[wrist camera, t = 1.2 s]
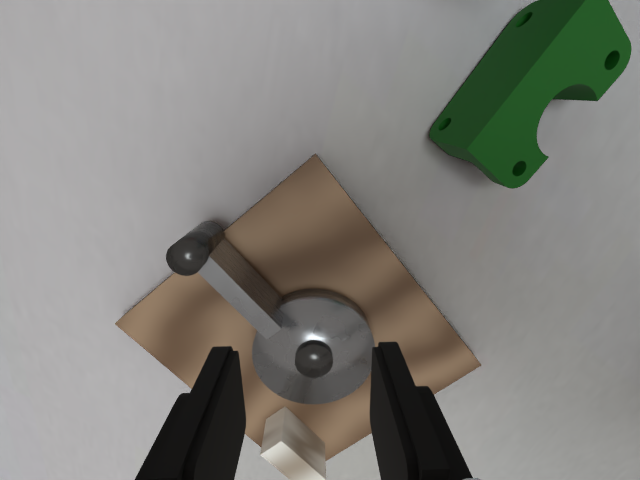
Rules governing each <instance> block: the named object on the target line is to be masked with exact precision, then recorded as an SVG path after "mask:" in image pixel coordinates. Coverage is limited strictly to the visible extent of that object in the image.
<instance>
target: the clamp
mask: <svg viewBox="0 0 640 480" xmlns="http://www.w3.org/2000/svg"><path fill="white" fill-rule="evenodd" d="M630 55H631V43H630V40H629V38H628V37H627V35H626V33H625V31H624V29H623V27H622V25H621V23H620V22H619V20H618V18H617V16H616V14H615V12H614V10H613V9H612V7H611V5H610V3H609V1H608V0H538V1H535V2H533V3H531V4H530V5H528V6H527V7H525V8H524V9H523V10H521V11H520V12H519V13H518V14H517V15H516V16H515V17H514V18H513V19H512V20H511V21H510V23H509V24H508V25H507V26H506V28H505V29H504V30H503V32H502V33H501V35H500V36H499V37H498V39H497V40H496V41H495V43H494V44H493V45H492V47H491V48H490V49H489V51H488V52H487V53H486V55H485V56H484V57H483V59H482V60H481V61H480V63H479V64H478V65H477V67H476V68H475V69H474V71H473V72H472V73H471V75H470V76H469V77H468V79H467V80H466V81H465V83H464V84H463V85H462V87H461V88H460V89H459V91H458V92H457V93H456V95H455V96H454V97H453V99H452V100H451V101H450V103H449V104H448V105H447V107H446V108H445V109H444V111H443V112H442V113H441V115H440V116H439V117H438V119H437V120H436V121H435V123H434V124H433V126H432V128H431V130H430V134H429V136H430V138H431V139H432V140H433V141H434V142H435V143H436V144H437V145H438V146H439V147H440V148H442V149H443V150H444V151H445V152H446V153H447V154H448V155H451V156H454V157H457V158H460V159H463V160H466V161H469V162H472V163H473V164H474V165H475V166H476V167H477V168H478V169H480V170H481V171H482V172H483V173H484V174H485V175H486V176H487V177H488V178H489V179H490V180H491V181H493V182H495V183H497V184H500V185H503V186H505V187H508V188H518V187H520V186H522V185H524V184H525V183H526V182H527V181H528V180H529V179H530V178H531V177H532V176H533V174H534V173H535V172H536V171H537V170H538V169H539V168H540V166H541V165H542V164H543V163H544V162H545V161H546V160H547V158H548V156H546V155H544V154H543V153H542V152H541V150H540V149H539V147H538V143H537V127H538V123H539V120H540V118H541V115H542V113H543V111H544V110H545V108H546V106H547V105H548V104H549V102H550V101H551V100H552V99H564V100H587V101H598V100H599V99H600V98H601V97H602V95H603V94H604V93H605V92H606V91H607V90H608V89H609V87H610V86H611V85H612V84H613V83H614V82H615V81H616V79H617V78H618V77H619V76H620V75H621V74H622V72H623V71H624V69H625V68H626V66H627V64H628V62H629V59H630Z"/></svg>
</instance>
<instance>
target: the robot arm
mask: <svg viewBox="0 0 640 480" xmlns="http://www.w3.org/2000/svg"><path fill="white" fill-rule="evenodd" d="M370 425H371V431H372V436H373V441H374V446H375V451H376V456H377V461H378V466H379V471H380V476H381V480H481V479H478V478H473V477H472V475H471V473H470V471H469V469H468V467H467V465H466V463H465V460H464V458H463V456H462V454H461V452H460V450H459V448H458V446H457V443H456V441H455V439H454V437H453V435H452V433H451V431H450V429H449V426H448V424H447V422H446V420H445V418H444V416H443V414H442V412H441V409H440V407H439V405H438V403H437V401H436V399H435V397H434V394H433V392H432V391H431V389H430V388H429V387H428V386H416V385H415V383H414V381H413V378H412V376H411V373H410V371H409V369H408V366H407V364H406V361H405V359H404V356H403V354H402V352H401V349H400V347H399V344H398V343H397V342H379V343H378V347H373V348H372V364H371V389H370ZM245 429H246V411H245V402H244V394H243V385H242V376H241V367H240V359H239V352H238V351H233V348H232V347H231V346H217V347H212V349H211V350H210V352H209V355H208V357H207V359H206V361H205V363H204V365H203V367H202V369H201V371H200V373H199V375H198V377H197V379H196V382H195V384H194V386H193V388H192V390H191V392H190V393H182V394H181V395H179V397H178V398H177V400H176V402H175V404H174V405H173V407H172V409H171V411H170V413H169V415H168V417H167V419H166V421H165V423H164V425H163V427H162V428H161V430H160V432H159V434H158V436H157V438H156V440H155V442H154V444H153V446H152V448H151V450H150V452H149V453H148V455H147V457H146V459H145V461H144V463H143V465H142V467H141V469H140V471H139V473H138V475H137V476H136V478H135V480H234V477H235V473H236V469H237V464H238V460H239V456H240V451H241V447H242V443H243V438H244V434H245Z"/></svg>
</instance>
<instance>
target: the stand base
mask: <svg viewBox="0 0 640 480" xmlns="http://www.w3.org/2000/svg"><path fill="white" fill-rule="evenodd" d="M223 232H224V238H225V239H226V240H227V241H228V242H229V243H230V244H231V245H232V247H233V248H234V249H235V250H236V251H237V252H238V253H239V254H240V255H241V256H242V257H243V258H244V259H245V260H246V261H247V262H248V263H249V264H250V265H251V266H252V267H253V268H254V270H255V271H256V272H257V273H258V274H259V275H260V276H261V277H262V278H263V279H264V280H265V281H266V282H267V283H268V284H269V285H270V286H271V287H272V288H273V289H274V290H275V291H276V292H277V294H278V295H279V296H280V297H283V296H285V295H287V294H289V293H292V292H295V291H299V290H303V289H325V290H330V291H333V292H336V293H339V294H341V295H343V296H345V297H347V298H349V299H350V300H351V301H353V302H354V303H355V304H356V305H357V306H358V307H359V308H360V309H361V310H362V312H363V313H364V314H365V316H366V318H367V320H368V323H369V326H370V329H371V332H372V335H373V339H374V343H375V347H378V343H379V342H397V343H398V344H399V347H400V349H401V352H402V354H403V356H404V359H405V361H406V364H407V366H408V369H409V371H410V373H411V376H412V378H413V381H414V383H415V385H416V386H428V387H429V388H430V389H431V391H432V392H433V394H436V393H437V392H439V391H440V390H442V389H444V388H445V387H447V386H449V385H450V384H452V383H453V382H455V381H457V380H458V379H460V378H462V377H463V376H465V375H466V374H468V373H470V372H471V371H473V370H475V369H476V368H478V367H479V366H481V364H480V363H479V361H478V360H477V359H476V357H475V356H474V355H473V353H472V352H471V351H470V350H469V348H468V347H467V346H466V344H465V343H464V342H463V341H462V339H461V338H460V337H459V336H458V334H457V333H456V332H455V330H454V329H453V328H452V327H451V325H450V324H449V323H448V322H447V320H446V319H445V318H444V316H443V315H442V314H441V313H440V311H439V310H438V309H437V308H436V306H435V305H434V304H433V303H432V301H431V300H430V299H429V297H428V296H427V295H426V294H425V292H424V291H423V290H422V289H421V287H420V286H419V285H418V283H417V282H416V281H415V280H414V278H413V277H412V276H411V275H410V273H409V272H408V271H407V269H406V268H405V267H404V266H403V264H402V263H401V262H400V261H399V259H398V258H397V257H396V255H395V254H394V253H393V252H392V250H391V249H390V248H389V247H388V245H387V244H386V243H385V241H384V240H383V239H382V238H381V236H380V235H379V234H378V233H377V231H376V230H375V229H374V227H373V226H372V225H371V224H370V222H369V221H368V220H367V219H366V217H365V216H364V215H363V214H362V212H361V211H360V210H359V208H358V207H357V206H356V205H355V203H354V202H353V201H352V200H351V198H350V197H349V196H348V194H347V193H346V192H345V191H344V189H343V188H342V187H341V186H340V184H339V183H338V182H337V180H336V179H335V178H334V177H333V175H332V174H331V173H330V172H329V170H328V169H327V168H326V166H325V165H324V164H323V163H322V161H321V160H320V159H319V158H318V156H317V155H316V154H315V155H313V156H312V157H311V158H310V159H309V160H308V161H306V162H305V163H304V164H303V165H302V166H300V167H299V168H298V169H297V170H296V171H294V172H293V173H292V174H291V175H290V176H289V177H287V178H286V179H285V180H284V181H283V182H281V183H280V184H279V185H278V186H277V187H275V188H274V189H273V190H272V191H271V192H270V193H268V194H267V195H266V196H265V197H264V198H262V199H261V200H260V201H259V202H258V203H256V204H255V205H254V206H253V207H252V208H251V209H249V210H248V211H247V212H246V213H245V214H243V215H242V216H241V217H240V218H239V219H237V220H236V221H235V222H234V223H233V224H232V225H230V226H229V227H228V228H227V229H226V230H224V231H223ZM115 324H116V325H117V326H118V327H119V328H120V329H121V330H123V331H124V332H125V333H126V334H127V335H129V336H130V337H131V338H132V339H133V340H135V341H136V342H137V343H138V344H139V345H140V346H142V347H143V348H144V349H145V350H146V351H148V352H149V353H150V354H151V355H152V356H153V357H155V358H156V359H157V360H158V361H159V362H161V363H162V364H163V365H164V366H165V367H167V368H168V369H169V370H170V371H171V372H172V373H174V374H175V375H176V376H177V377H178V378H180V379H181V380H182V381H183V382H184V383H185V384H187V385H188V386H189V387H190V388H191V389H192V388H193V386H194V384H195V382H196V379H197V377H198V375H199V373H200V371H201V369H202V367H203V365H204V363H205V361H206V359H207V357H208V355H209V352H210V350H211V349H212V347H217V346H231V347H232V348H233V351H238V352H239V359H240V367H241V376H242V385H243V394H244V402H245V411H246V429H245V434H246V435H247V436H248V437H250V438H251V439H252V440H253V441H254V442H255V443H257V444H258V445H259V446H260V447H261V453H260V455H261V456H262V457H263V458H265V459H266V460H267V461H268V462H269V463H271V464H272V465H273V466H274V467H275V468H277V469H278V470H279V471H280V472H281V473H283V474H284V475H285V476H286V477H287V478H289V479H290V480H326V463H325V461H327V460H328V459H330V458H331V457H333V456H335V455H336V454H338V453H340V452H341V451H343V450H344V449H346V448H348V447H349V446H351V445H353V444H354V443H356V442H357V441H359V440H361V439H362V438H364V437H366V436H367V435H369V434H370V433H372V431H371V425H370V389H371V372H370V374H369V376H368V377H367V379H366V380H365V381H364V383H363V384H362V385H361V386H360V387H359V388H358V389H357V390H355V391H354V392H353V393H351V394H349V395H348V396H346V397H344V398H342V399H339V400H337V401H333V402H330V403H324V404H302V403H297V402H293V401H290V400H287V399H285V398H282V397H280V396H279V395H277V394H275V393H274V392H272V391H271V390H270V389H269V388H268V387H267V386H266V385H265V384H264V383H263V382H262V381H261V379H260V378H259V376H258V374H257V373H256V370H255V368H254V365H253V360H252V346H253V342H254V338H255V335H256V331H257V330H256V329H255V328H254V327H253V326H252V325H251V324H250V323H249V322H248V321H247V320H246V319H245V318H244V317H243V316H242V315H241V314H240V313H239V312H238V311H237V310H236V309H235V308H234V307H233V306H232V305H231V304H230V303H229V302H228V301H227V300H226V299H225V298H223V297H222V296H221V295H220V294H219V293H218V292H217V291H216V290H215V289H214V288H213V287H212V286H211V285H210V284H209V283H208V282H207V281H206V280H205V279H204V278H203V277H202V276H201V275H200V274H199V273H198V272H197V273H196V274H194V275H190V276H183V275H179V274H177V273H173V274H172V275H171V276H170V277H169V278H167V279H166V280H165V281H164V282H163V283H161V284H160V285H159V286H158V287H157V288H156V289H154V290H153V291H152V292H151V293H150V294H148V295H147V296H146V297H145V298H144V299H142V300H141V301H140V302H139V303H138V304H137V305H135V306H134V307H133V308H132V309H131V310H129V311H128V312H127V313H126V314H125V315H124V316H123V317H121V318H120V319H119V320H118V321H117V322H116V323H115Z"/></svg>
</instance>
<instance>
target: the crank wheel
mask: <svg viewBox="0 0 640 480" xmlns="http://www.w3.org/2000/svg"><path fill="white" fill-rule="evenodd" d="M166 260H167V263H168V265H169V267H170V268H171V269H172V270H173V271H174V272H175V273H177V274H179V275H183V276H190V275H194V274H196V273H197V272H198V273H199V274H200V275H201V276H202V277H203V278H204V279H205V280H206V281H207V282H208V283H209V284H210V285H211V286H212V287H213V288H214V289H215V290H216V291H217V292H218V293H219V294H220V295H221V296H222V297H223V298H225V299H226V300H227V301H228V302H229V303H230V304H231V305H232V306H233V307H234V308H235V309H236V310H237V311H238V312H239V313H240V314H241V315H242V316H243V317H244V318H245V319H246V320H247V321H248V322H249V323H250V324H251V325H252V326H253V327H254V328H255V329H256V330H257V331H256V335H255V338H254V342H253V346H252V360H253V365H254V368H255V370H256V373H257V374H258V376H259V378H260V379H261V381H262V382H263V383H264V384H265V385H266V386H267V387H268V388H269V389H270V390H271V391H272V392H274V393H275V394H277V395H279V396H280V397H282V398H285V399H287V400H290V401H293V402H297V403H302V404H324V403H330V402H333V401H337V400H339V399H342V398H344V397H346V396H348V395H349V394H351V393H353V392H354V391H355V390H357V389H358V388H359V387H360V386H361V385H362V384H363V383H364V381H365V380H366V379H367V377H368V376H369V374H370V372H371V364H372V348H373V347H375V343H374V339H373V335H372V332H371V329H370V326H369V323H368V320H367V318H366V316H365V314H364V313H363V312H362V310H361V309H360V308H359V307H358V306H357V305H356V304H355V303H354V302H353V301H351V300H350V299H349V298H347V297H345V296H343V295H341V294H339V293H336V292H333V291H330V290H325V289H303V290H299V291H295V292H292V293H289V294H287V295H285V296H283V297H280V296H279V295H278V294H277V292H276V291H275V290H274V289H273V288H272V287H271V286H270V285H269V284H268V283H267V282H266V281H265V280H264V279H263V278H262V277H261V276H260V275H259V274H258V273H257V272H256V271H255V270H254V268H253V267H252V266H251V265H250V264H249V263H248V262H247V261H246V260H245V259H244V258H243V257H242V256H241V255H240V254H239V253H238V252H237V251H236V250H235V249H234V248H233V247H232V245H231V244H230V243H229V242H228V241H227V240H226V239H225V238H224V232H223V229H222V228H221V227H220V226H219V225H218V224H216V223H214V222H210V221H207V222H203V223H201V224H200V225H198V226H197V227H196V228H194V229H193V230H192V231H190V232H189V233H188V234H186V235H185V236H184V237H183V238H181V239H180V240H179V241H177V242H176V243H175V244H173V245H172V246H171V247H170V248H169V249H168V251H167V254H166Z"/></svg>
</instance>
